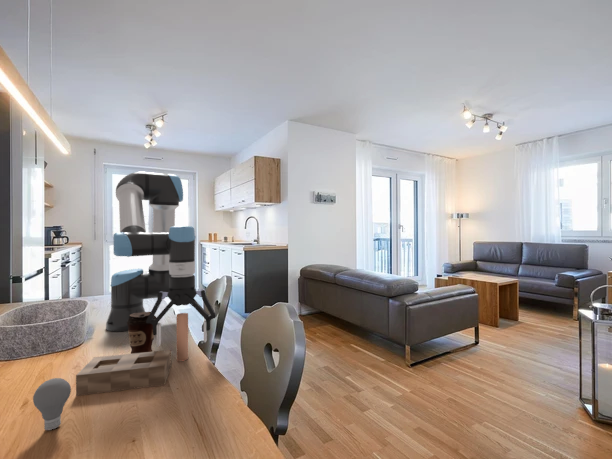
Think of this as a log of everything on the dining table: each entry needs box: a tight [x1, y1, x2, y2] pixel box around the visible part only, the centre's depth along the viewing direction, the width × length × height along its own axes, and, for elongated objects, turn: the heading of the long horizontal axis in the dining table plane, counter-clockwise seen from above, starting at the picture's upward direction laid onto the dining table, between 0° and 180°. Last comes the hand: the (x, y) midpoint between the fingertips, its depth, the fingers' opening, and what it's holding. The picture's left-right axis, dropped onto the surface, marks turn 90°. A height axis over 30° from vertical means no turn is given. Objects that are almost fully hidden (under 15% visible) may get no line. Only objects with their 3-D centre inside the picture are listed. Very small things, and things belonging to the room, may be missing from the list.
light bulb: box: [32, 377, 72, 431], centre depth 63 cm, size 6×6×10 cm
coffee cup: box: [127, 311, 157, 354], centre depth 101 cm, size 9×8×13 cm
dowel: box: [176, 312, 189, 362], centre depth 97 cm, size 3×3×14 cm
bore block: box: [75, 349, 172, 397], centre depth 84 cm, size 11×20×5 cm, turn 105°
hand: (182, 342), depth 97 cm, fingers open, 13 cm apart
